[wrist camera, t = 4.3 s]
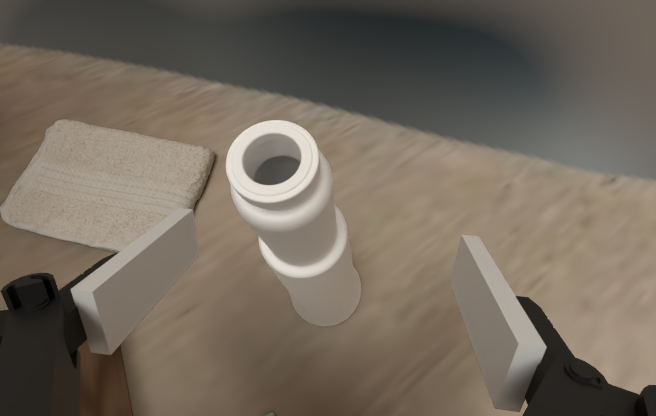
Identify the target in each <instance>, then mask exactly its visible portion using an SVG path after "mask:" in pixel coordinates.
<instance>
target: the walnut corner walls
mask: <svg viewBox="0 0 656 416" xmlns="http://www.w3.org/2000/svg"><path fill="white" fill-rule="evenodd" d="M78 349H79V352H80V355H81V365H80V416H133V415H132V409H131V404H130V398H129V393H128V387H127V382H126V376H125V371H124V365H123V360H122V354H121V349H120V345H119V347H118V348H117V349H116V350H115V351H114V352H113V353H112V354H111V355H106V354H99V353H92V352H91V351H90V348H89V345H88V342H87V340H86V341H85V342H84V343H83V344H82V345H81V346H80V347H79V348H78Z"/></svg>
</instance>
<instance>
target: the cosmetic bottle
mask: <svg viewBox="0 0 656 416" xmlns="http://www.w3.org/2000/svg"><path fill="white" fill-rule="evenodd" d="M226 172H227V176H228V179H229V181H230V183H231V195H232V199H233V202H234V204H235V207H236V209H237V210H238V212H239V213H240V214H241V216H242V217H243V218H244V220H245V221H246V222H247V223H248V224H249V225H250V227H251V228H252V229H253V230H254V231H255V232H256V234H257V235H258V236H259V246H260V250H261V253H262V255H263V257H264V259H265V260H266V262H267V263H268V265H269V266H270V268H271V269H272V271H273V272H274V274H275V275H276V276H277V278H278V279H279V280H280V282H281V283H282V284H283V285H284V287H285V288H286V289H287V290H288V292H289V293H290V299H291V302H292V305H293V307H294V309H295V310H296V312H297V313H298V314H299V315H300V316H301V317H302V318H303V319H304V320H305V321H307V322H309V323H311V324H313V325H317V326H326V327H327V326H333V325H337V324H339V323H341V322H343V321H345V320H346V319H348V318H349V317H350V316H351V315H352V314H353V312H354V311H355V310H356V308H357V306H358V304H359V301H360V297H361V281H360V278H359V275H358V273H357V271H356V269H355V268H354V266H353V264H352V255H351V247H350V240H349V235H348V230H347V225H346V222H345V219H344V216H343V215H342V213H341V211H340V210H339V209H338V207H337V206H336V205H335V200H334V189H333V177H332V172H331V169H330V166H329V164H328V162H327V160H326V158H325V157H324V155H323V154H322V153H321V152H320V151H319V150H318V148H317V145H316V142H315V141H314V139H313V137H312V136H311V135H310V134H309V133H308V132H307V131H306V130H305V129H303V128H302V127H300V126H298V125H297V124H294V123H291V122H288V121H282V120H272V121H265V122H261V123H258V124H256V125H253V126H251V127H250V128H248V129H246V130H245V131H244V132H242V133H241V134H240V135H239V136H238V137H237V138H236V139H235V141H234V142H233V144H232V145H231V147H230V149H229V151H228V154H227V158H226Z"/></svg>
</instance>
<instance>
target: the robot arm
mask: <svg viewBox="0 0 656 416" xmlns="http://www.w3.org/2000/svg"><path fill="white" fill-rule="evenodd" d="M198 257H199V253H198V245H197V237H196V229H195V221H194V214H193V209H183V208H178V209H177V210H175V211H174V212H173V213H171V214H170V215H169V216H167V217H166V218H165V219H163V220H162V221H161V222H159V223H158V224H157V225H155V226H154V227H153V228H151V229H150V230H149V231H147V232H146V233H145V234H143V235H142V236H141V237H139V238H138V239H137V240H135V241H134V242H133V243H131V244H130V245H129V246H127V247H126V248H125V249H123V250H122V251H121V252H119V253H115V254H112V255H110V256H108V257H106V258H103V259H102V260H100V261H99V262H97V263H96V264H95V265H93V266H92V268H89V269H88V270H86V271H85V272H84V274H81V275H80V276H78V277H77V278H75V279H74V280H73V281H71V282H70V283H69V284H67V285H66V286H64V287H63V288H62V289H60V290H59V291H58V288H57V285H56V282H55V279H54V277H53V275H51V274H49V273H36V274H30V275H27V276H23V277H20V278H18V279H16V280H14V281H12V282H10V283H9V284H7V285H6V286H4V288H3V289H2V290H1V293H2V295H3V297H4V300H5V302H6V304H7V307H8V309H9V310H3V311H0V416H80V365H81V355H80V352H79V349H78V348H79V347H80V346H81V345H82V344H83V343H84V342H85V341H86V340H87V342H88V345H89V348H90V351H91V352H92V353H99V354H106V355H111V354H112V353H113V352H114V351H115V350H116V349H117V348H118V347H119V345H120V344H121V343H122V342H123V341H124V340H125V339H126V338H127V336H128V335H129V334H130V333H131V332H132V331H133V330H134V329H135V327H136V326H137V325H138V324H139V323H140V322H141V321H142V320H143V319H144V317H145V316H146V315H147V314H148V313H149V312H150V311H151V310H152V308H153V307H154V306H155V305H156V304H157V303H158V302H159V301H160V299H161V298H162V297H163V296H164V295H165V294H166V293H167V292H168V291H169V289H170V288H171V287H172V286H173V285H174V284H175V283H176V282H177V280H178V279H179V278H180V277H181V276H182V275H183V274H184V273H185V271H186V270H187V269H188V268H189V267H190V266H191V265H192V264H193V262H194V261H195V260H196V259H197V258H198ZM450 285H451V287H452V290H453V293H454V296H455V299H456V301H457V304H458V307H459V310H460V313H461V315H462V318H463V321H464V324H465V327H466V329H467V332H468V335H469V338H470V341H471V344H472V346H473V349H474V352H475V355H476V358H477V360H478V363H479V366H480V369H481V372H482V374H483V377H484V380H485V383H486V386H487V388H488V391H489V394H490V397H491V400H492V402H493V405H494V408H495V409H501V410H508V411H516V412H520V410H521V408H522V405H523V403H524V401H525V399H526V402H527V404H528V407H527V408H526V410H525V412H524V414H523V416H656V385H648V386H647V387H645V388H644V389H643V390H642V392H641V393H640V395H639V394H636V393H633V392H630V391H627V390H625V389H622V388H619V387H616V386H613V385H611V384H608V383H607V381H606V379H605V378H604V376H603V375H602V374H601V373H600V372H599V371H598V370H597V369H596V368H594V367H593V366H591V365H590V364H588V363H587V362H585V361H582V360H580V359H578V358H575V357H574V355H573V354H572V353H571V351H570V350H569V348H568V347H567V345H566V344H565V342H564V341H563V340H562V338H561V337H560V335H559V334H558V332H557V331H556V329H555V328H553V325H552V324H551V322H550V321H549V320H548V319H547V316H546V315H545V313H544V312H543V311H542V309H541V308H540V307H539V306H538V305H537V304H536V303H534V302H533V301H532V300H531V299H529V298H528V297H520V296H515V295H514V293H513V292H512V290H511V288H510V287H509V285H508V284H507V282H506V280H505V279H504V277H503V275H502V274H501V272H500V271H499V269H498V267H497V266H496V264H495V262H494V261H493V259H492V258H491V256H490V254H489V253H488V251H487V249H486V248H485V246H484V245H483V243H482V241H481V240H480V238H479V236H469V235H461V239H460V244H459V248H458V252H457V256H456V261H455V265H454V269H453V273H452V278H451V282H450Z"/></svg>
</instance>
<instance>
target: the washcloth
mask: <svg viewBox="0 0 656 416" xmlns="http://www.w3.org/2000/svg"><path fill="white" fill-rule="evenodd" d="M214 156H215V153H214V152H213V151H211V150H210V149H208V148H204V147H203V146H201V145H200V146H196V145H193V144H189V143H188V144H187V143H180V142H178V141H170V140H167V139H160V138H154V137H152V136H146V135H142V134H139V133H137V132H136V133H131V132H125V131H121V130H118V129H109V128H104V127H102V126H94V125H91V124H86V123H83V122H81V121H80V122H77V121H74V120H73V121H72V120H67V119H64V120H58V121H56V122H55V123H54V125H53V126H51V127H49V128H48V129H46V131H45V139H44V141H43V142H42V144H41V146H40V148H39V150H38V152H37V153H36V154H35V155H34V157H33V158H32V160H31V162H30V163H29V165H28V166H27V168H26V169H25V171H24V172H23V174H22V175H21V176H20V178H19V179H18V180H17V182H16V183H15V184H14V186H13V188H12V189H11V191H10V193H9V194H8V197H7V198H6V200H5V201H4V203H3V205H2V206H0V212H1V218H2V219H3V220H4V221H5V222H6V223H8V224H9V225H11V226H13V227H15V228H18V229H22V230H26V231H31V232H35V233H37V234H41V235H45V236H48V237H52V238H56V239H61V240H66V241H70V242H75V243H78V244H83V245H86V246H90V247H94V248H99V249H103V250H108V251H112V252H117V253H119V252H121V251H122V250H123V249H125V248H126V247H127V246H129V245H130V244H131V243H133V242H134V241H135V240H137V239H138V238H139V237H141V236H142V235H143V234H145V233H146V232H147V231H149V230H150V229H151V228H153V227H154V226H155V225H157V224H158V223H159V222H161V221H162V220H163V219H165V218H166V217H167V216H169V215H170V214H171V213H173V212H174V211H175V210H177V209H178V208H183V209H194V207H195V203H196V201H197V200H198V199H199V198H200V197H201V194H202V192H203V189H204V186H205V185H206V181H207V179H208V175H209V174H210V170H211V168H212V166H213V162H214Z"/></svg>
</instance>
